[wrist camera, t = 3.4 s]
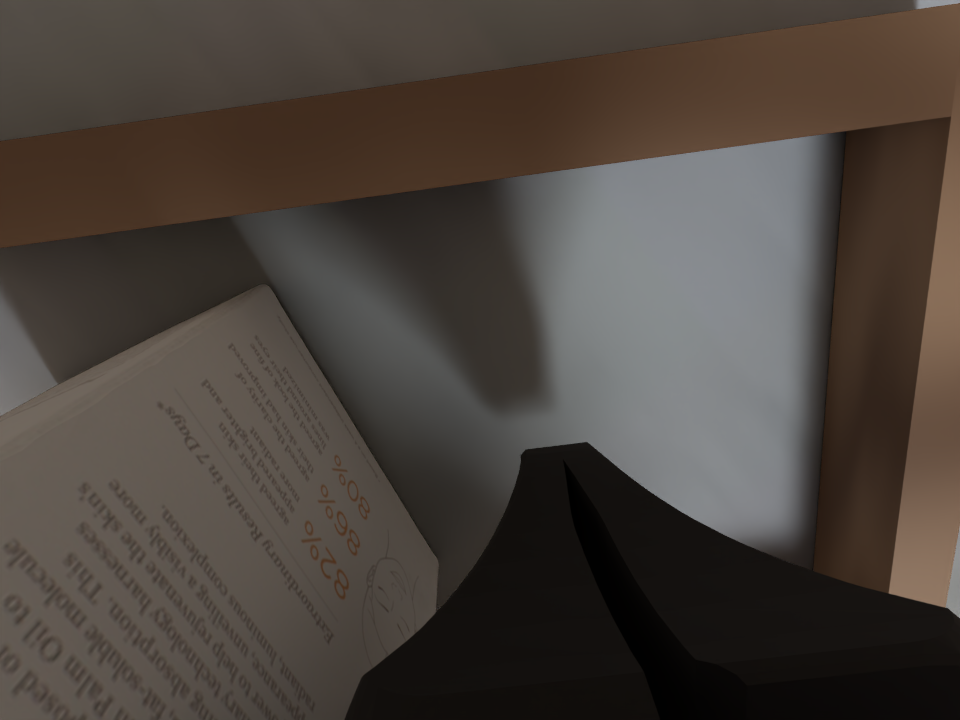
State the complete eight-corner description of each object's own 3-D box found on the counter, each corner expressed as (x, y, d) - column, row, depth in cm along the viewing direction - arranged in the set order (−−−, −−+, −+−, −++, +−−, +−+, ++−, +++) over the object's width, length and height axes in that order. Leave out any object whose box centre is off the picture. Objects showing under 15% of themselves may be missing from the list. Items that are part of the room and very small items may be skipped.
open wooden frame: (851, 657, 15) (921, 747, 13) (85, 744, 16) (18, 845, 13) (919, 30, 10) (1052, -11, 8) (-193, 188, 11) (-376, 195, 9)
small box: (54, 383, 12) (-1643, 1277, 2) (274, 274, 12) (-854, 910, 2) (254, 641, 15) (-188, 1615, 5) (446, 564, 14) (390, 1520, 4)
